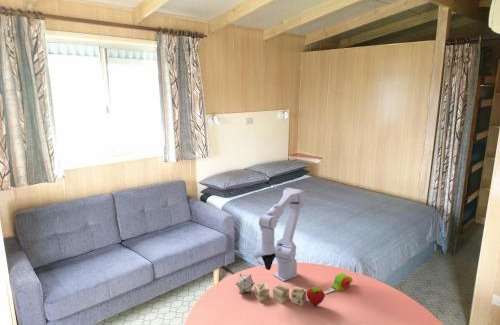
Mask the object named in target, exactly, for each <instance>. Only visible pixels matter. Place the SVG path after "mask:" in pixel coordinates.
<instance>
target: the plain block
mask: <svg viewBox="0 0 500 325" xmlns="http://www.w3.org/2000/svg"><path fill="white" fill-rule="evenodd" d="M272 299H273V300H275V301H276V302H278V303H280V304H283V303H285V302H286V301H288V300H289V299H290V287H287V286H286V285H283V284H279V285H277V286H275V287H274V288H272Z"/></svg>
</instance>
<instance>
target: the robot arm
mask: <svg viewBox="0 0 500 325" xmlns="http://www.w3.org/2000/svg"><path fill="white" fill-rule="evenodd" d="M306 196H307V195H306V192H305V190H304V189H297V188H292V187H289V186H287V187H285V188H284V190H283V192H282V197H281V199H279V202H278V203H277V204H276V203H275V204H273V205H272V207H271V208H270V209H269V210H268V211H267V212H266V213H265V214H262V215H260V217H259V220H258V225H259V227H260V228H259V229H260V232H261V249H259V250H258V251H256V252H254V253H253V258H254V259H256V260H258V259H259V258H261V259H262V261H263V264H264V268H265V269H266V270H267V271H269V270H271V268H272V265H273V261H274V260H275V259H276V264H277V267H276V272H275V273H273V276H275V277H276V278H278V279H280V281H282V282H285V281H288V280H290V279H293V278H295V277H298V275H299V274H298V273H297V271H298V270H297V269H298V268H297V266H298V265H297V263H298V262H297V259H296V255H297V246H296V244H295V242H294V236H295V231H296V228H297V223H298V220H299V215H300V212H301V211H300V210H301V209H302V208H303V207H304V204H305V201H306ZM287 206H289V211H288V215H287V218H286V222H285V227H284V230H283V235H282V238H280V239H279V240H277V241H276V242H275V229H276V228H277V225H278V222H279V219H280V218H281V216H282V215H283V214H284V209H285V208H287ZM275 243H276V244H275Z"/></svg>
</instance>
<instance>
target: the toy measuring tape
mask: <svg viewBox="0 0 500 325" xmlns="http://www.w3.org/2000/svg"><path fill="white" fill-rule="evenodd" d="M353 281H354V280H353V278H352V277H351V276H350V275H347V274H345V273H343V272H341V273H338V274H337V275H335V277H334V282H333V284H332V286H331V287H330V288H328V289H327V290H324V291H323V292H324V294H325V295H326V294H328V293H331V292H335V291H336V292H340V291H343V290H346V289H348V288H350V287H351V286H352V284H351V283H352V282H353Z"/></svg>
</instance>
